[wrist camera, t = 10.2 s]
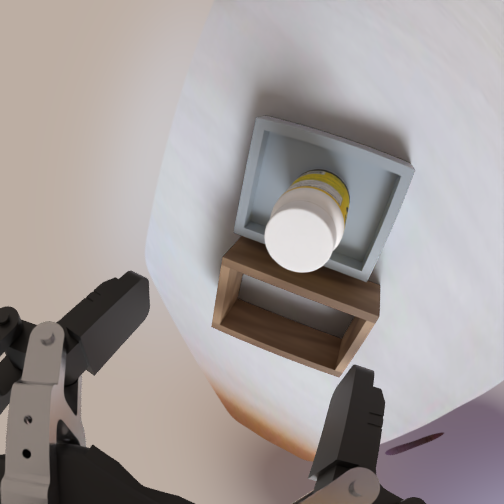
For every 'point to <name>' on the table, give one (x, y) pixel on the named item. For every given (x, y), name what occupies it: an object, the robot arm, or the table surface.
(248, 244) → the caddy
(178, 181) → the table surface
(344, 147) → the tray
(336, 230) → the supplement bottle
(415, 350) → the table surface
